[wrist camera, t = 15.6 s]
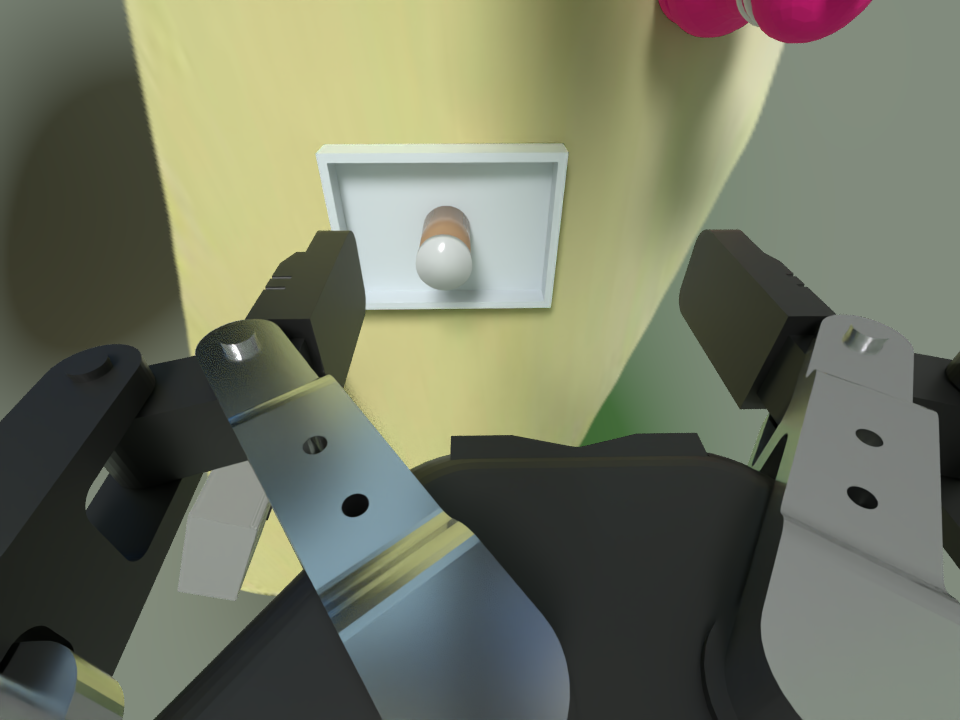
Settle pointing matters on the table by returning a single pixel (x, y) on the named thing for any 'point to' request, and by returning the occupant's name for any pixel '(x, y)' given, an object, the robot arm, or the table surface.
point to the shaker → (445, 249)
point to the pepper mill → (764, 17)
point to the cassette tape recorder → (223, 532)
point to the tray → (458, 183)
